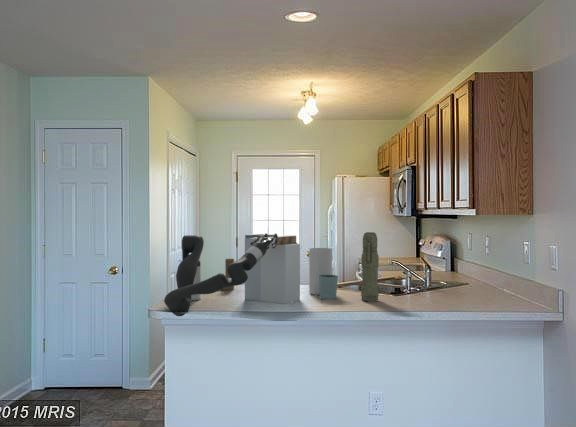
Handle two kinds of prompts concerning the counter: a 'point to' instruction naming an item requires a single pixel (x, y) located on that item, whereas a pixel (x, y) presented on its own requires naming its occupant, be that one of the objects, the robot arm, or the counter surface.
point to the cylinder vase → (318, 267)
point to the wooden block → (227, 263)
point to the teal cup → (328, 286)
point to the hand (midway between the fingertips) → (271, 235)
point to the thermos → (369, 267)
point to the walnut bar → (283, 239)
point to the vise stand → (274, 273)
